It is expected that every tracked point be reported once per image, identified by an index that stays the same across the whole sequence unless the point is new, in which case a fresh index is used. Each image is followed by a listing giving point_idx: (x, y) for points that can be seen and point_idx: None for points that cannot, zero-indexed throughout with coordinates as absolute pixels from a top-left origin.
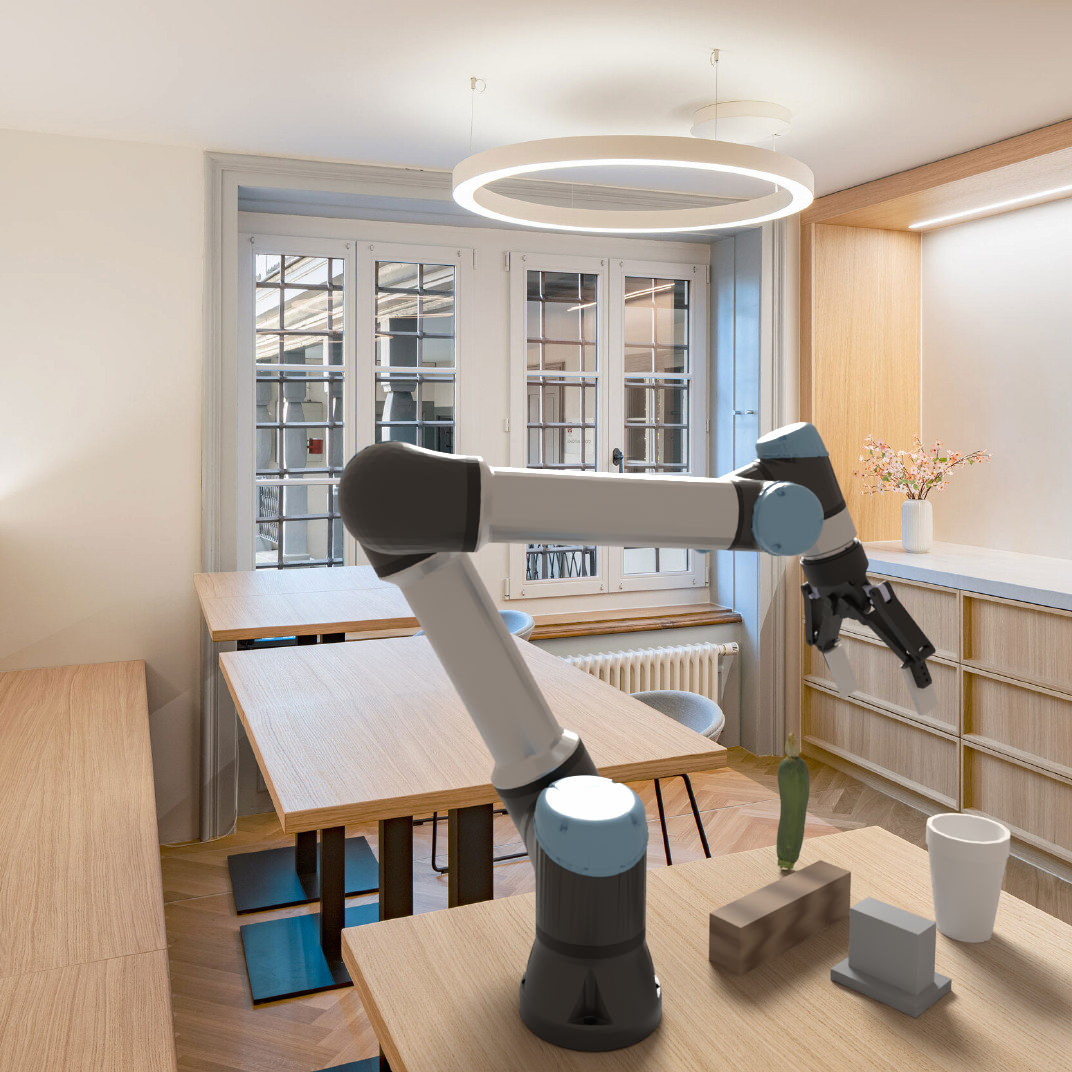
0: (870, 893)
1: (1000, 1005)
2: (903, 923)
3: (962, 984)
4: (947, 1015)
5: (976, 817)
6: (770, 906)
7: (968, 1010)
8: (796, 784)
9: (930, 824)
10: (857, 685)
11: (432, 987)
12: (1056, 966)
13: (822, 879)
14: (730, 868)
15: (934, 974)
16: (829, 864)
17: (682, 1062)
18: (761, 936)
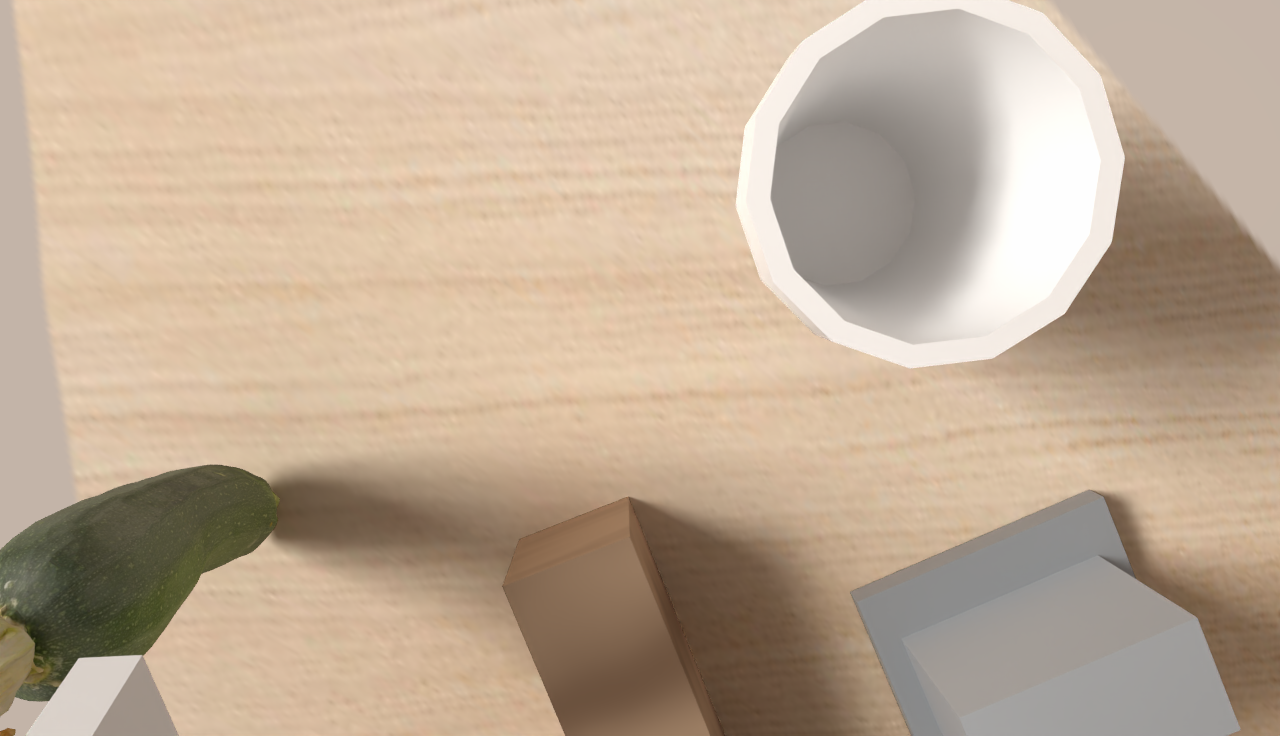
0: (516, 332)
1: (1198, 416)
2: (1162, 728)
3: (1079, 440)
4: (1180, 584)
5: (845, 38)
6: None
7: (1183, 516)
8: (162, 625)
9: (840, 324)
10: (127, 697)
11: None
12: None
13: (650, 673)
14: (194, 689)
15: (1066, 527)
16: (548, 576)
17: None
18: None
